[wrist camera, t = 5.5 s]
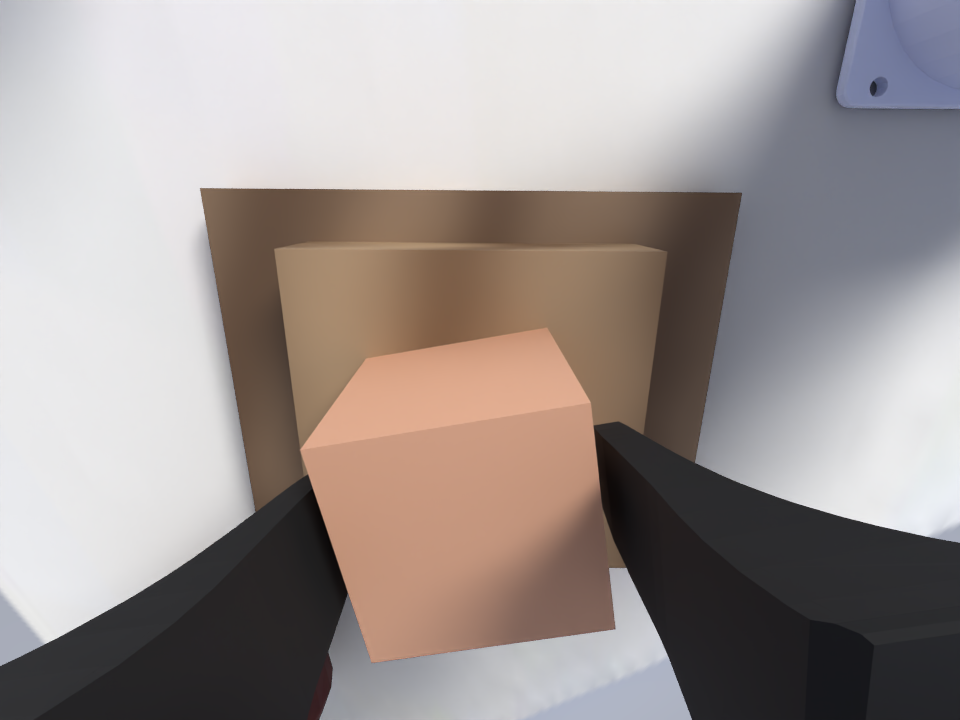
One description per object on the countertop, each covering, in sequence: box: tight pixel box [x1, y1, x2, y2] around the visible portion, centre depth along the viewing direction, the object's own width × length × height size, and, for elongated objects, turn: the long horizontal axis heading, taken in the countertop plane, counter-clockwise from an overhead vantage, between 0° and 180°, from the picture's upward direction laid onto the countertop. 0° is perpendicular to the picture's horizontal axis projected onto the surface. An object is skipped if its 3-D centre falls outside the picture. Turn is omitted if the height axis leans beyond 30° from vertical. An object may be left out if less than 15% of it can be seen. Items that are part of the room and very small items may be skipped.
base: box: [200, 188, 742, 568], centre depth 15 cm, size 16×13×4 cm
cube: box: [300, 328, 615, 663], centre depth 11 cm, size 5×5×5 cm
